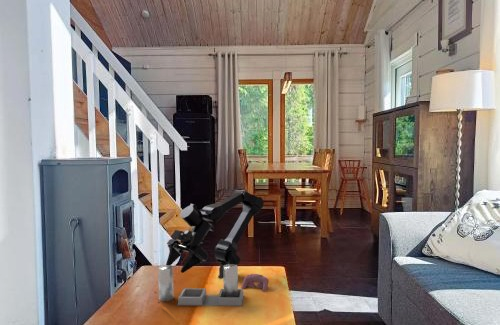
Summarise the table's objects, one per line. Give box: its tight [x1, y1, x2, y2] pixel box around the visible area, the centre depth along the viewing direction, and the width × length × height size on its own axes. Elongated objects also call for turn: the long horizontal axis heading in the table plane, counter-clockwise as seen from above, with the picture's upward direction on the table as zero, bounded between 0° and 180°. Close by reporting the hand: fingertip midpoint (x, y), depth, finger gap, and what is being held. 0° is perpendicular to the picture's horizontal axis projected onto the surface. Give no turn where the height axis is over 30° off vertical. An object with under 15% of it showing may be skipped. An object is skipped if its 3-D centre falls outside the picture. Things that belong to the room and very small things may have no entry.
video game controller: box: [241, 273, 269, 293], centre depth 136 cm, size 10×5×7 cm, turn 71°
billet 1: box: [157, 264, 174, 304], centre depth 127 cm, size 5×5×12 cm
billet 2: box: [222, 264, 239, 297], centre depth 124 cm, size 5×5×12 cm
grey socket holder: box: [177, 287, 245, 307], centre depth 125 cm, size 22×9×4 cm, turn 87°
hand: (173, 269), depth 129 cm, fingers open, 9 cm apart
